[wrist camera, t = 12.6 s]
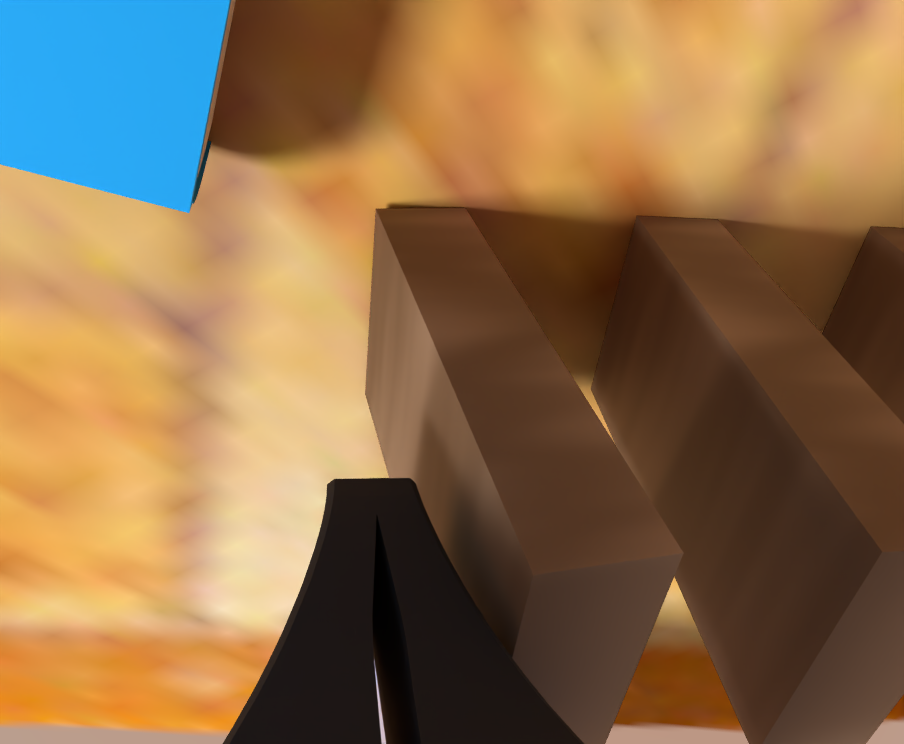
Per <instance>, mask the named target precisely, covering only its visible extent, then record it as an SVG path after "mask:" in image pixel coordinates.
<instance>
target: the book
mask: <svg viewBox="0 0 904 744" xmlns="http://www.w3.org/2000/svg"><path fill="white" fill-rule="evenodd" d="M235 2H236V0H0V164H1V165H5V166H9V167H13V168H17V169H20V170H24V171H28V172H32V173H36V174H40V175H44V176H48V177H51V178H55V179H59V180H63V181H67V182H71V183H75V184H79V185H82V186H86V187H90V188H94V189H98V190H102V191H106V192H110V193H113V194H117V195H121V196H125V197H129V198H133V199H137V200H141V201H144V202H148V203H152V204H156V205H160V206H164V207H168V208H172V209H175V210H179V211H183V212H187V213H189V212H190V208H191V205H192V203H193V204H194V202H195V200H196V197H197V194H198V191H199V188H200V184H201V180H202V177H203V173H204V169H205V165H206V161H207V157H208V153H209V149H210V145H211V141H208V137H209V133H210V129H211V124H212V119H213V114H214V109H215V104H216V99H217V94H218V89H219V84H220V79H221V73H222V68H223V63H224V58H225V53H226V48H227V43H228V38H229V33H230V28H231V22H232V17H233V12H234V7H235Z"/></svg>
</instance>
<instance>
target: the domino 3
mask: <svg viewBox="0 0 904 744" xmlns="http://www.w3.org/2000/svg"><path fill="white" fill-rule="evenodd" d="M822 335H823V336H824V337H825V338H826V339H827V340H828V341H829V342H830V343H831V345H832V346H833V347H834V348H835V349H836V350H837V351H838V352H839V353H840V354H841V356H842V357H843V358H844V359H845V360H846V361H847V362H848V363H849V364H850V365H851V367H852V368H853V369H854V370H855V371H856V372H857V373H858V374H859V375H860V376H861V378H862V379H863V380H864V381H865V382H866V383H867V384H868V385H869V386H870V387H871V389H872V390H873V391H874V392H875V393H876V394H877V395H878V396H879V397H880V398H881V400H882V401H883V402H884V403H885V404H886V405H887V406H888V407H889V408H890V409H891V411H892V412H893V413H894V414H895V415H896V416H897V417H898V418H899V419H900V420H901V422H902V423H903V424H904V228H891V227H871V228H870V230H869V232H868V234H867V237H866V239H865V241H864V243H863V245H862V248H861V250H860V252H859V254H858V256H857V259H856V261H855V263H854V265H853V267H852V270H851V272H850V274H849V276H848V278H847V281H846V283H845V285H844V287H843V289H842V292H841V294H840V296H839V298H838V301H837V303H836V305H835V307H834V309H833V312H832V314H831V316H830V318H829V320H828V323H827V325H826V327H825V329H824V331H823V334H822Z"/></svg>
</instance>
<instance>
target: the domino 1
mask: <svg viewBox="0 0 904 744" xmlns="http://www.w3.org/2000/svg"><path fill="white" fill-rule="evenodd" d="M365 395H366V398H367V402H368V405H369V409H370V412H371V416H372V419H373V423H374V426H375V430H376V433H377V437H378V440H379V444H380V447H381V450H382V454H383V457H384V461H385V464H386V468H387V471H388V475H389V478H411V479H412V480H413V481H414V482H415V483H416V485H417V488H418V491H419V494H420V497H421V499H422V502H423V505H424V507H425V509H426V512H427V514H428V516H429V519H430V521H431V523H432V525H433V527H434V529H435V531H436V534H437V536H438V538H439V540H440V542H441V544H442V546H443V548H444V550H445V552H446V553H447V555H448V557H449V559H450V561H451V563H452V564H453V566H454V568H455V570H456V572H457V573H458V575H459V577H460V579H461V580H462V582H463V584H464V586H465V588H466V589H467V591H468V592H469V594H470V596H471V597H472V599H473V601H474V602H475V604H476V606H477V607H478V609H479V610H480V612H481V613H482V615H483V616H484V618H485V620H486V621H487V623H488V624H489V626H490V627H491V629H492V630H493V632H494V633H495V635H496V636H497V637H498V639H499V640H500V642H501V643H502V645H503V646H504V647H505V649H506V650H507V652H508V653H509V654H510V656H511V657H512V658H513V660H514V661H515V662H516V664H517V665H518V666H519V668H520V669H521V670H522V672H523V673H524V674H525V676H526V677H527V678H528V679H529V681H530V682H531V683H532V684H533V686H534V687H535V688H536V689H537V690H538V692H539V693H540V694H541V695H542V697H543V698H544V699H545V700H546V702H547V703H548V704H549V705H550V706H551V707H552V709H553V710H554V711H555V712H556V713H557V714H558V715H559V716H560V717H561V719H562V720H563V721H564V722H565V723H566V724H567V725H568V726H569V727H570V728H571V730H572V731H573V732H574V733H575V734H576V735H577V736H578V737H579V738H580V740H581V741H582V742H583V743H584V744H605V743H606V740H607V738H608V735H609V733H610V731H611V728H612V726H613V723H614V721H615V718H616V716H617V714H618V711H619V709H620V706H621V704H622V701H623V699H624V697H625V694H626V692H627V689H628V687H629V685H630V682H631V680H632V677H633V675H634V672H635V670H636V668H637V665H638V663H639V660H640V658H641V655H642V653H643V651H644V648H645V646H646V643H647V641H648V638H649V636H650V634H651V631H652V629H653V626H654V624H655V621H656V619H657V617H658V614H659V612H660V609H661V607H662V604H663V602H664V600H665V597H666V595H667V592H668V590H669V588H670V585H671V583H672V580H673V578H674V575H675V573H676V571H677V568H678V566H679V563H680V561H681V558H682V556H683V554H684V553H683V551H682V550H681V548H680V546H679V545H678V543H677V542H676V540H675V538H674V537H673V535H672V534H671V532H670V531H669V529H668V527H667V526H666V524H665V523H664V521H663V520H662V518H661V516H660V515H659V513H658V512H657V510H656V508H655V507H654V505H653V504H652V502H651V501H650V499H649V497H648V496H647V494H646V493H645V491H644V489H643V488H642V486H641V485H640V483H639V482H638V480H637V478H636V477H635V475H634V474H633V472H632V471H631V469H630V467H629V466H628V464H627V463H626V461H625V459H624V458H623V456H622V455H621V453H620V452H619V450H618V448H617V447H616V445H615V444H614V442H613V441H612V439H611V437H610V436H609V434H608V433H607V431H606V429H605V428H604V426H603V425H602V423H601V422H600V420H599V418H598V417H597V415H596V414H595V412H594V410H593V409H592V407H591V406H590V404H589V403H588V401H587V399H586V398H585V396H584V395H583V393H582V392H581V390H580V388H579V387H578V385H577V384H576V382H575V380H574V379H573V377H572V376H571V374H570V373H569V371H568V369H567V368H566V366H565V365H564V363H563V362H562V360H561V358H560V357H559V355H558V354H557V352H556V350H555V349H554V347H553V346H552V344H551V343H550V341H549V339H548V338H547V336H546V335H545V333H544V331H543V330H542V328H541V327H540V325H539V324H538V322H537V320H536V319H535V317H534V316H533V314H532V313H531V311H530V309H529V308H528V306H527V305H526V303H525V301H524V300H523V298H522V297H521V295H520V294H519V292H518V290H517V289H516V287H515V286H514V284H513V283H512V281H511V279H510V278H509V276H508V275H507V273H506V271H505V270H504V268H503V267H502V265H501V264H500V262H499V260H498V259H497V257H496V256H495V254H494V252H493V251H492V249H491V248H490V246H489V245H488V243H487V241H486V240H485V238H484V237H483V235H482V234H481V232H480V230H479V229H478V227H477V226H476V224H475V222H474V221H473V219H472V218H471V216H470V215H469V213H468V211H467V210H466V208H401V209H376V215H375V232H374V250H373V267H372V285H371V302H370V319H369V337H368V354H367V371H366V389H365Z"/></svg>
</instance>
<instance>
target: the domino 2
mask: <svg viewBox="0 0 904 744" xmlns="http://www.w3.org/2000/svg"><path fill="white" fill-rule="evenodd" d="M591 390H592V393H593V395H594V397H595V399H596V402H597V404H598V406H599V408H600V411H601V413H602V415H603V417H604V420H605V422H606V424H607V426H608V429H609V431H610V433H611V435H612V438H613V440H614V442H615V444H616V446H617V448H618V450H619V452H620V453H621V455H622V456H623V458H624V459H625V461H626V463H627V464H628V466H629V467H630V469H631V471H632V472H633V474H634V475H635V477H636V478H637V480H638V482H639V483H640V485H641V486H642V488H643V489H644V491H645V493H646V494H647V496H648V497H649V499H650V501H651V502H652V504H653V505H654V507H655V508H656V510H657V512H658V513H659V515H660V516H661V518H662V520H663V521H664V523H665V524H666V526H667V527H668V529H669V531H670V532H671V534H672V535H673V537H674V538H675V540H676V542H677V543H678V545H679V546H680V548H681V550H682V551H683V553H684V554H683V556H682V558H681V561H680V563H679V566H678V568H677V571H676V573H675V575H674V576H675V579H676V581H677V583H678V585H679V588H680V590H681V592H682V594H683V597H684V599H685V601H686V603H687V606H688V608H689V610H690V612H691V615H692V617H693V619H694V621H695V624H696V626H697V628H698V630H699V633H700V635H701V637H702V639H703V641H704V644H705V646H706V648H707V650H708V653H709V655H710V657H711V659H712V662H713V664H714V666H715V668H716V671H717V673H718V675H719V677H720V680H721V682H722V684H723V686H724V689H725V691H726V693H727V695H728V698H729V700H730V702H731V704H732V706H733V709H734V711H735V713H736V715H737V718H738V720H739V722H740V724H741V727H742V729H743V731H744V733H745V736H746V738H747V740H748V742H749V744H866V743H867V741H868V740H869V739H870V737H871V736H872V735H873V734H874V732H875V731H876V730H877V728H878V727H879V726H880V724H881V723H882V722H883V720H884V719H885V718H886V717H887V715H888V714H889V713H890V711H891V710H892V709H893V707H894V706H895V705H896V704H897V702H898V701H899V700H900V698H901V697H902V696H903V694H904V424H903V423H902V422H901V420H900V419H899V418H898V417H897V416H896V415H895V414H894V413H893V412H892V411H891V409H890V408H889V407H888V406H887V405H886V404H885V403H884V402H883V401H882V400H881V398H880V397H879V396H878V395H877V394H876V393H875V392H874V391H873V390H872V389H871V387H870V386H869V385H868V384H867V383H866V382H865V381H864V380H863V379H862V378H861V376H860V375H859V374H858V373H857V372H856V371H855V370H854V369H853V368H852V367H851V365H850V364H849V363H848V362H847V361H846V360H845V359H844V358H843V357H842V356H841V354H840V353H839V352H838V351H837V350H836V349H835V348H834V347H833V346H832V345H831V343H830V342H829V341H828V340H827V339H826V338H825V337H824V336H823V335H822V334H821V332H820V331H819V330H818V329H817V328H816V327H815V326H814V325H813V324H812V323H811V321H810V320H809V319H808V318H807V317H806V316H805V315H804V314H803V313H802V312H801V310H800V309H799V308H798V307H797V306H796V305H795V304H794V303H793V302H792V301H791V299H790V298H789V297H788V296H787V295H786V294H785V293H784V292H783V291H782V290H781V288H780V287H779V286H778V285H777V284H776V283H775V282H774V281H773V280H772V279H771V278H770V276H769V275H768V274H767V273H766V272H765V271H764V270H763V269H762V268H761V267H760V265H759V264H758V263H757V262H756V261H755V260H754V259H753V258H752V257H751V256H750V254H749V253H748V252H747V251H746V250H745V249H744V248H743V247H742V246H741V245H740V243H739V242H738V241H737V240H736V239H735V238H734V237H733V236H732V235H731V234H730V232H729V231H728V230H727V229H726V228H725V227H724V226H723V225H722V224H721V223H720V221H719V220H718V219H697V218H675V217H654V216H637V217H636V220H635V224H634V228H633V232H632V235H631V239H630V243H629V247H628V251H627V254H626V258H625V262H624V266H623V269H622V273H621V277H620V281H619V285H618V288H617V292H616V296H615V300H614V303H613V307H612V311H611V315H610V319H609V322H608V326H607V330H606V334H605V337H604V341H603V345H602V349H601V353H600V356H599V360H598V364H597V368H596V371H595V375H594V379H593V383H592V387H591Z"/></svg>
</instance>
